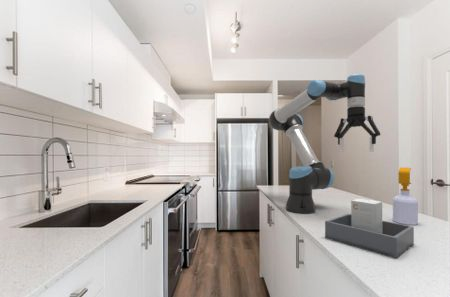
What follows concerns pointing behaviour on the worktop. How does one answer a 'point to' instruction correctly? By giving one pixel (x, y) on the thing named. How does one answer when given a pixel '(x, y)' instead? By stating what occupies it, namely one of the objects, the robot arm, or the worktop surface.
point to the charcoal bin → (371, 236)
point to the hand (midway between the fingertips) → (355, 151)
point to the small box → (366, 215)
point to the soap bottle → (405, 201)
